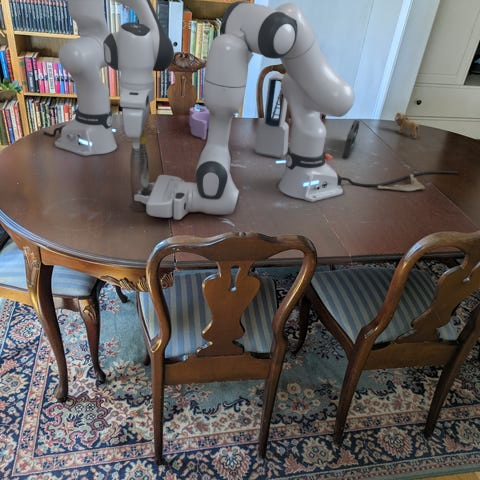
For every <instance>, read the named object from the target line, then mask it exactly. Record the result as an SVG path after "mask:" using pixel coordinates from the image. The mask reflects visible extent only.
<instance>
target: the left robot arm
mask: <svg viewBox="0 0 480 480" xmlns="http://www.w3.org/2000/svg"><path fill="white" fill-rule="evenodd" d="M111 1H112V2H116V3H118V4H121V5H122V6H124V7H127V8H128V9H131V11H133V13H134V14H135V15H136V17H137V19H138V21H139V22H135V21H129V22H124V23H122V24H121V25H120V26H119V29H118V30H117V31H115V32H110V29H109V26H108V23H107V19H106V13H105V5H104V4H105V3H104V0H67V10H68V14H69V17H70V19H72V20H73V21H74V22H75V24H76V26H77V28H78V32H79V35H80V36H79V37H75V38H71V39H69V40H67V41H66V42H65V43H64V44H62V45H61V46H60V48H59V50H58V60H59V64H60V65H61V67H62V69H63V70H64V71H66V73H68V74H69V76H70V77H71V80H72V82H73V83H74V87H75V92H76V101H77V108H76V109H75V110H74V111H71V115H72V116H74V115H75V116H74V118H73V119H72V120H71V121H69V122H68V123H67V124H64V125H62V126H59V127H56V128H54V130H53V133H49V132H47V131H43V134H44V135H46V136H49V137H56V136H57V132H58V134H59V135H60V137H59V138H57V139H56V140H55V142H54V146H55V147H57V148H59V149H62V150H65V151H69V152H72V153H74V154H78V155H80V156H84V157H85V156H86V157H87V156H92V155H105V154H108V153H111V152H114V151H115V150H116V149H117V148H118V145H117V142H116V140H115V135H114V132H115V133H116V129H115V128H113V111H112V109H111V97H110V89H109V87H108V85H107V84H105V83H104V81H103V78H102V76H101V69H103V68H106V67H109V68H111V69H112V70H114V71H119V72H120V76H119V93H120V94H119V107H121V108H122V122H123V129H124V134H125V137H126V138H129V139H130V138H131V139H132V142H133V143H132V145H133V148H134V149H139V147H140V136H141V133H142V132H145V131H146V124H147V121H148V118H149V116H150V112H151V111H150V110H151V109H150V108H151V107H150V106H151V102H154V101H155V99H156V97H155V96H156V95H155V94H156V93H155V92H156V89H155V87H156V86H155V77H154V72H164V71H166V70H167V69H168V68H169V67H170V66H171V65H172V63H173V61H174V58H175V49H174V46H173V43H172V40H171V38H170V36H169V35H168V34H167V33H166V31H165V29H164V28H163V25H162V23H161V21H160V19H159V17H158V15H157V12H156V10H155V8H154V5H153V3H152V1H151V0H111ZM145 133H146V132H145Z"/></svg>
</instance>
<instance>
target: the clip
mask: <svg viewBox="0 0 480 480" xmlns="http://www.w3.org/2000/svg"><path fill="white" fill-rule="evenodd" d="M188 119H189V120H188V121H189V122H188V125H189V127H190V134H191V135H193V136H195V137H197V138H201V140H207V130H209V122H210V113H209V110H208V109H207V108H206V107H203V106H200V107H199V111H196V108H195V107H190V108H189V118H188Z"/></svg>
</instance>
